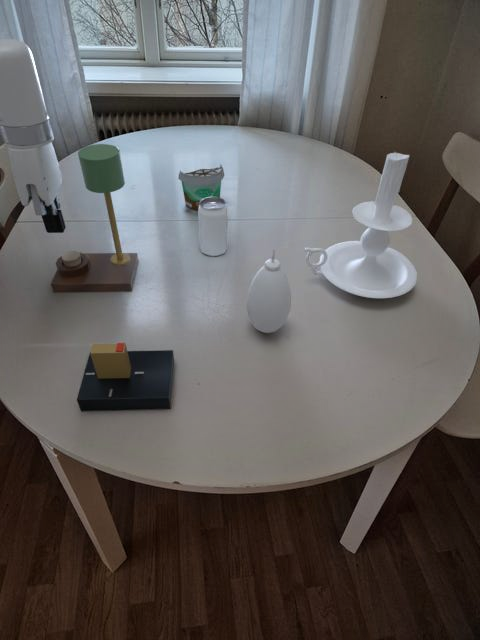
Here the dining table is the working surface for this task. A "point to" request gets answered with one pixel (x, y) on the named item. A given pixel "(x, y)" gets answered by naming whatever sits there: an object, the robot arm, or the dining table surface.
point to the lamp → (105, 184)
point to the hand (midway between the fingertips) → (56, 230)
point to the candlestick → (372, 244)
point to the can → (212, 226)
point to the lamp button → (71, 259)
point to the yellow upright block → (111, 360)
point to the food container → (201, 185)
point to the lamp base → (95, 274)
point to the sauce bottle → (269, 297)
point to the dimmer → (130, 384)
